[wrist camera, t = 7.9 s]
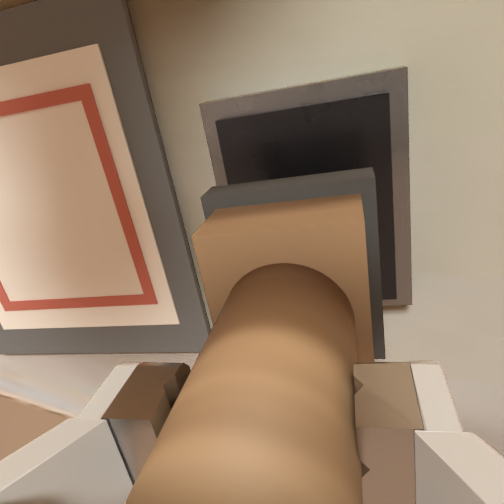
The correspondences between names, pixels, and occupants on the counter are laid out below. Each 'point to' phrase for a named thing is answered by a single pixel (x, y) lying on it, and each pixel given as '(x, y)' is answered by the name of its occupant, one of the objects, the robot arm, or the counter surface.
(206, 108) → the ink pad
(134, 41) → the mat
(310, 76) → the counter surface
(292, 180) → the stamp
